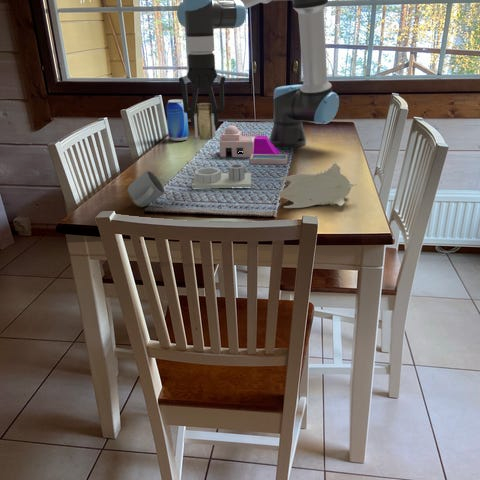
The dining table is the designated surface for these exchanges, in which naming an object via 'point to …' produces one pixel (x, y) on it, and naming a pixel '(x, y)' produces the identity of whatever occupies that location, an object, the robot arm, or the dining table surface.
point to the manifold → (222, 177)
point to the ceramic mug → (145, 189)
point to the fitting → (204, 121)
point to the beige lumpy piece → (316, 188)
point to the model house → (250, 147)
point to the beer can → (177, 120)
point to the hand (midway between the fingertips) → (205, 136)
